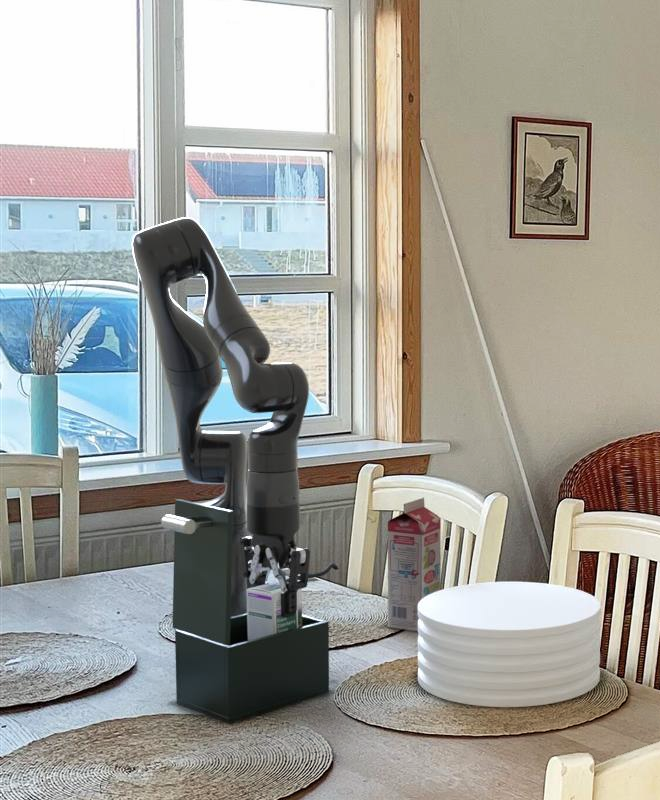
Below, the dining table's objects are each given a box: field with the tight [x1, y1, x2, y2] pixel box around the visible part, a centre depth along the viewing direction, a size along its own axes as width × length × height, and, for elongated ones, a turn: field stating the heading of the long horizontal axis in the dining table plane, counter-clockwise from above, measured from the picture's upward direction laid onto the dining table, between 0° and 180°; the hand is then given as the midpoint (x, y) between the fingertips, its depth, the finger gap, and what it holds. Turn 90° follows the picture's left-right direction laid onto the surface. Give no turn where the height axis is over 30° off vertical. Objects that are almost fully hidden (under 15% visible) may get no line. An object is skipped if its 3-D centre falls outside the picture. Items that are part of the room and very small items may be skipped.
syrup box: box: [247, 580, 303, 641], centre depth 200 cm, size 6×6×14 cm
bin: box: [174, 613, 330, 725], centre depth 197 cm, size 18×13×11 cm
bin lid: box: [160, 498, 233, 645], centre depth 187 cm, size 18×13×5 cm
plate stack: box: [417, 581, 602, 708], centre depth 209 cm, size 28×28×12 cm
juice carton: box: [387, 496, 442, 632], centre depth 236 cm, size 7×7×22 cm
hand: (274, 611), depth 199 cm, fingers closed on syrup box, 6 cm apart
